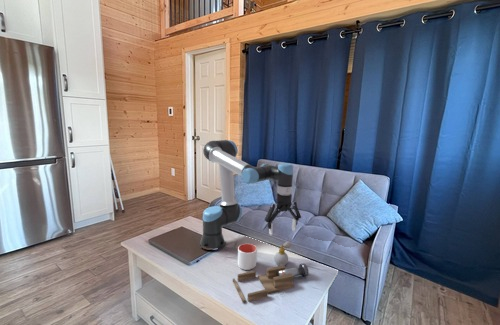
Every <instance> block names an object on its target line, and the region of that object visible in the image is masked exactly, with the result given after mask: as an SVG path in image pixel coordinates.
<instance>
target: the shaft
mask: <svg viewBox="0 0 500 325" xmlns="http://www.w3.org/2000/svg"><path fill="white" fill-rule="evenodd" d="M286 274H292V275H293V278H294V277H299V276H301V277H304V278H306V277H307V276H309V268H308V266H307V265H306V263H304V262H303V263H299V265H298V266H296V267H290V268H286V269H285V270H280V271H278V272H277V276H282V275H286Z"/></svg>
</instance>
